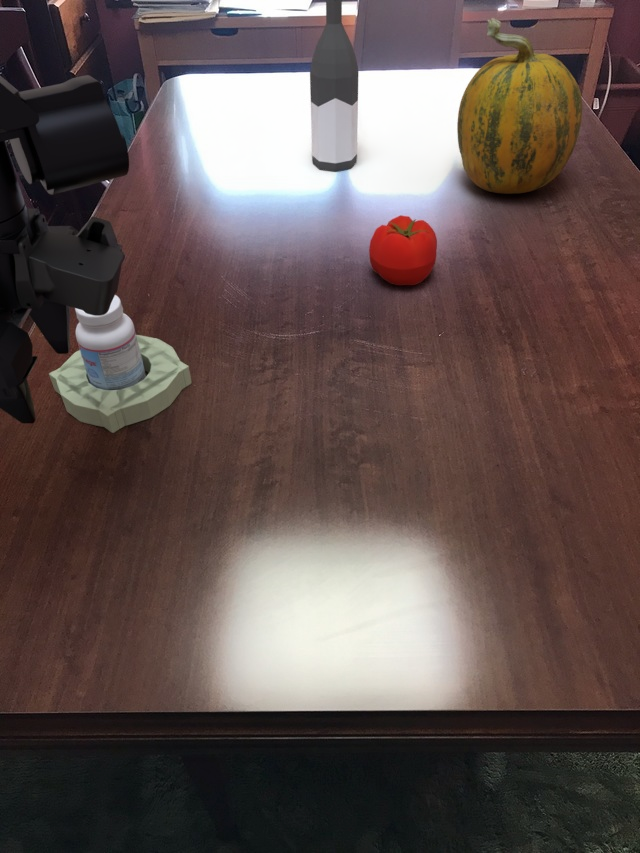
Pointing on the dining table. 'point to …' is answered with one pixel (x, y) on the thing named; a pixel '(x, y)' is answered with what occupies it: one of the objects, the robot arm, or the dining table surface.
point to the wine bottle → (334, 95)
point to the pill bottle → (110, 348)
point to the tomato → (403, 251)
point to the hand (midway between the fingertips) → (47, 385)
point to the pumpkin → (518, 118)
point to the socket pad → (126, 403)
